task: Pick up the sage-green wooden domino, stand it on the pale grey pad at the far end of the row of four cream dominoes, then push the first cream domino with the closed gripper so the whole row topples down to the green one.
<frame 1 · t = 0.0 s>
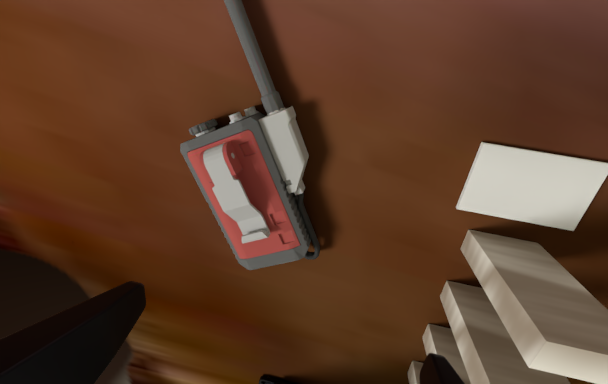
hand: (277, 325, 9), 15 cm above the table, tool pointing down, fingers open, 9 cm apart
domino 3: (473, 295, 24), on the table
end pad: (527, 186, 20), on the table
domino 4: (498, 246, 22), on the table
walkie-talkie: (254, 148, 23), on the table
domino 1: (435, 372, 28), on the table
domino 2: (453, 337, 26), on the table
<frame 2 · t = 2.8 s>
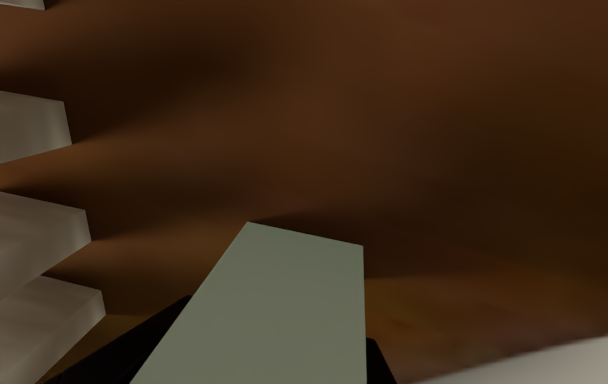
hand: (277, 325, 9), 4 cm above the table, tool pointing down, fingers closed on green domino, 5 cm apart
domino 3: (15, 114, 12), on the table
domino 1: (63, 292, 16), on the table
domino 2: (42, 216, 14), on the table
green domino: (301, 250, 13), on the table, touching gripper
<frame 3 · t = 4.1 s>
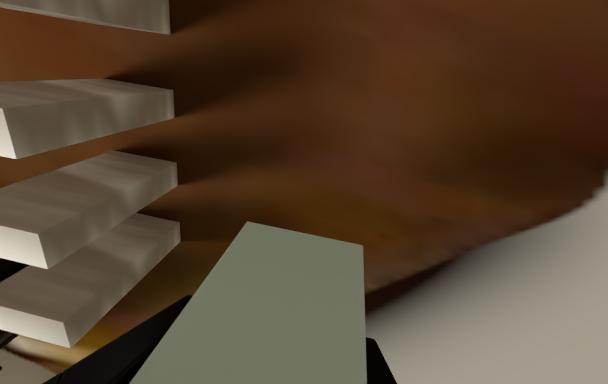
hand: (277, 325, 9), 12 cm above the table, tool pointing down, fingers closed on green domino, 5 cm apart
domino 3: (139, 98, 19), on the table
domino 4: (130, 12, 17), on the table
domino 1: (151, 225, 24), on the table
domino 2: (145, 168, 22), on the table
green domino: (301, 250, 13), point 8 cm above the table, touching gripper
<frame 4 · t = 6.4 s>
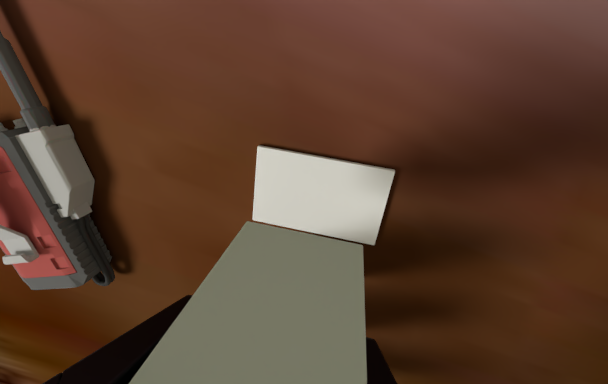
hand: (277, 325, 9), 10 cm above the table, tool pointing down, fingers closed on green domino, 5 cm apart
end pad: (318, 195, 18), on the table
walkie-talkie: (44, 161, 21), on the table
green domino: (301, 250, 13), point 6 cm above the table, touching gripper
when the fingers open (5 cm above the table, at t = 7.7 s): green domino stays where it is, resting on end pad.
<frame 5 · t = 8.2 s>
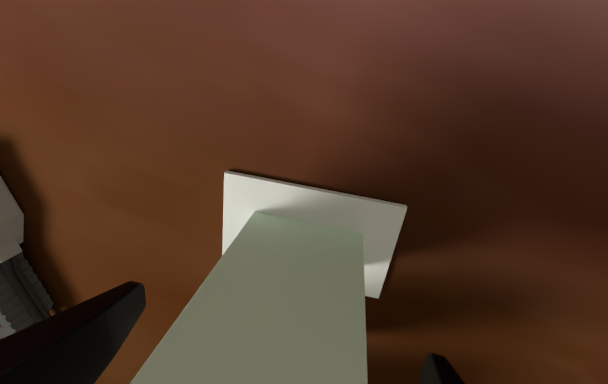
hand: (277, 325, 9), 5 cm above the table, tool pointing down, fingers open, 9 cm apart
end pad: (305, 235, 14), on the table
green domino: (305, 239, 13), resting on end pad
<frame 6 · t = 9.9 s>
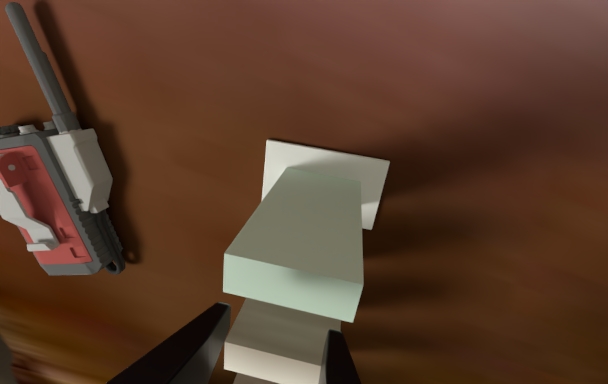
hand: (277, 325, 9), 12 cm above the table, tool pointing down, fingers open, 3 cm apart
end pad: (321, 184, 20), on the table
domino 4: (310, 245, 22), on the table
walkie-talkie: (67, 159, 23), on the table
green domino: (320, 186, 20), resting on end pad
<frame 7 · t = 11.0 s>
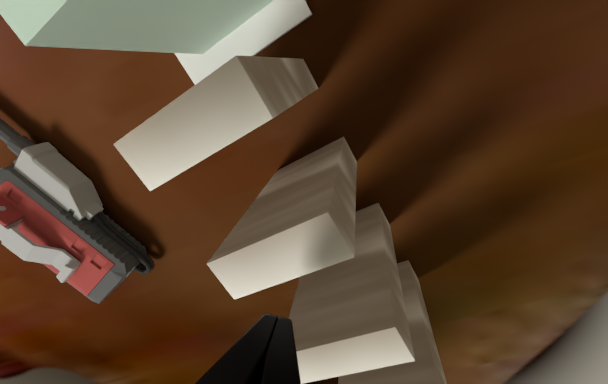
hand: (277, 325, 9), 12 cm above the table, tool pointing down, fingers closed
domino 3: (315, 166, 19), on the table
end pad: (228, 13, 16), on the table
domino 4: (275, 95, 17), on the table
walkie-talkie: (58, 192, 24), on the table
domino 1: (380, 279, 22), on the table
domino 2: (350, 226, 20), on the table
green domino: (226, 13, 16), resting on end pad
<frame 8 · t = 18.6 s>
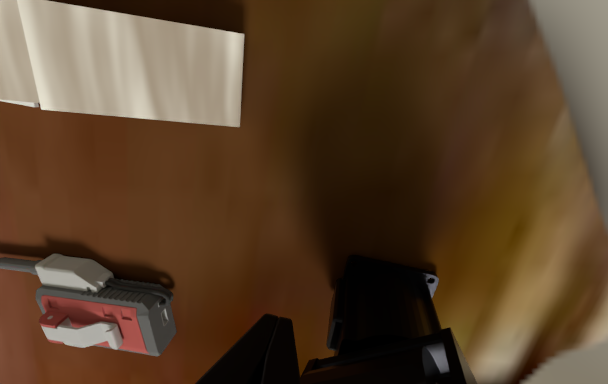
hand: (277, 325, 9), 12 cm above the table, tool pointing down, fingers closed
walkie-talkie: (92, 288, 29), on the table
domino 1: (241, 81, 17), point 1 cm above the table, tilted 67°, touching domino 2
domino 2: (167, 70, 18), point 1 cm above the table, tilted 67°, touching domino 1, domino 3
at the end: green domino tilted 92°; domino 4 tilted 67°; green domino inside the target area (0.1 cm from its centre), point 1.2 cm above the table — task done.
